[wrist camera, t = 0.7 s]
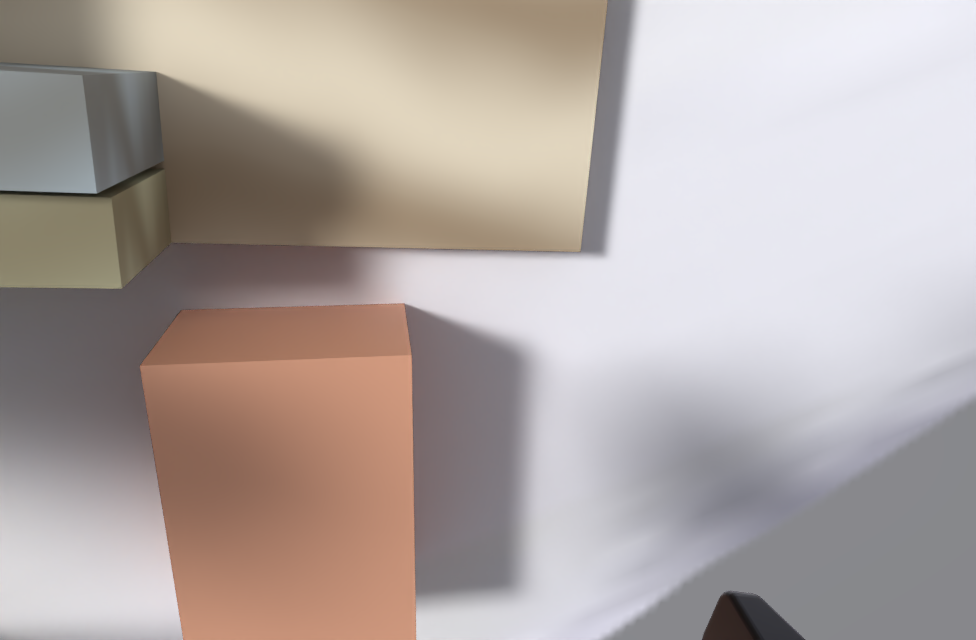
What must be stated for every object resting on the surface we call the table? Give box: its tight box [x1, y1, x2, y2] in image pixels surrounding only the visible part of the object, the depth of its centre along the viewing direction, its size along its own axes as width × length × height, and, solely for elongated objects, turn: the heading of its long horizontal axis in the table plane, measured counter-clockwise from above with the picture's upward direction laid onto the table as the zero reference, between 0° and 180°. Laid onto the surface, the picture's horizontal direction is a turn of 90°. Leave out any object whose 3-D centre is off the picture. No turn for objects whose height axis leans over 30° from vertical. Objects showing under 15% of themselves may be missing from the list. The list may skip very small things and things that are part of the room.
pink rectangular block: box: [140, 303, 416, 640], centre depth 19 cm, size 6×9×4 cm, turn 179°
